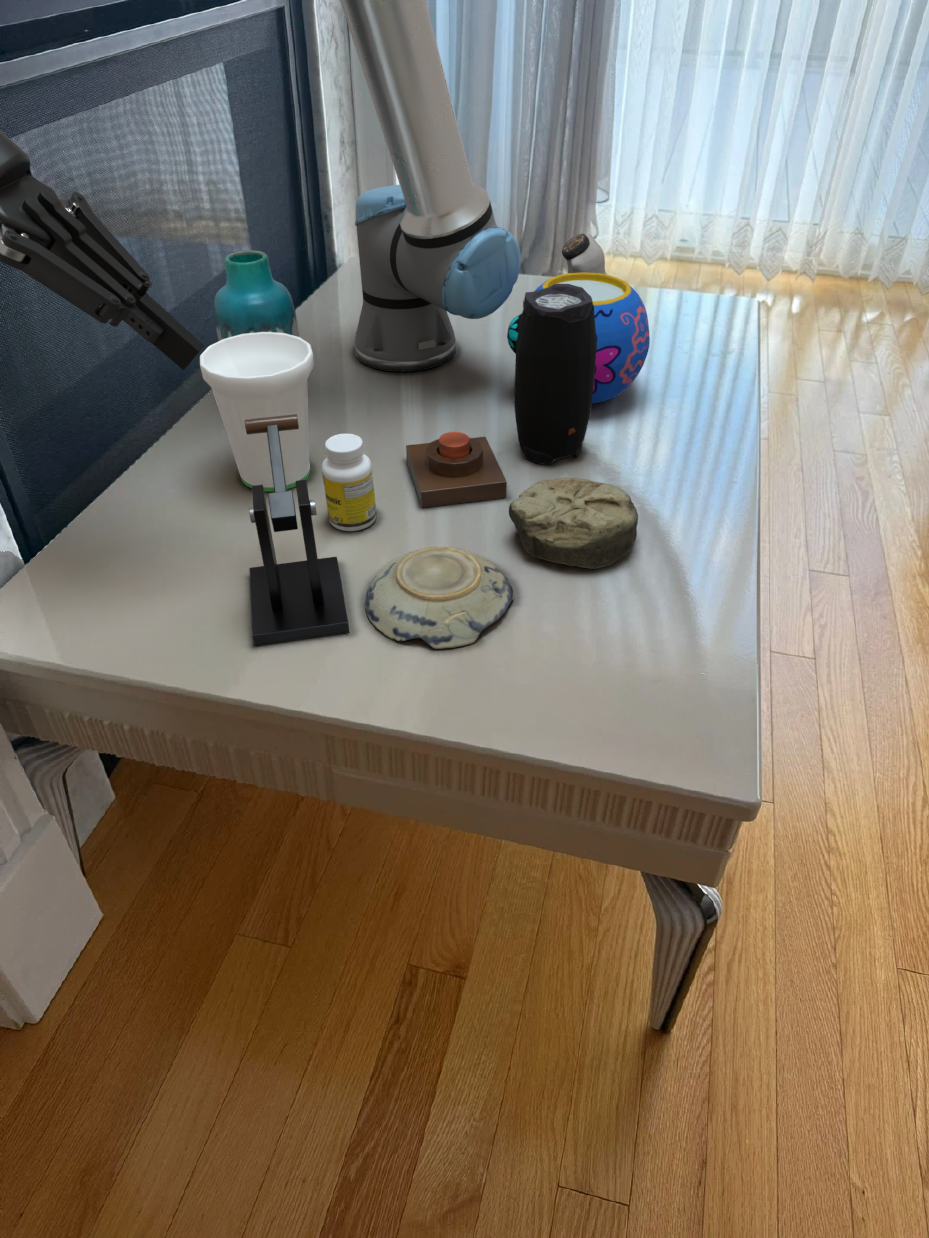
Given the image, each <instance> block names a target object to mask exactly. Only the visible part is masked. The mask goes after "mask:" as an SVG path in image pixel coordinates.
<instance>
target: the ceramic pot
mask: <svg viewBox="0 0 929 1238" xmlns="http://www.w3.org/2000/svg"><path fill="white" fill-rule="evenodd" d="M606 274H607V273H606ZM606 274H600V273H586V272H581V273H568V272H567V273H562V274H559V275H555V276H553V277H550V278H548V279H547V280H546V279H545V281H544V282H542V283H541V284H540V285H539V286H538V287H536V289H535V290H534V291H537V290H541V289H544V288H548V287H550V286H552V285H554V284H571V285H575V286H578V287H582V288H583V289H584V290H585V291H586V292H587V293H588V294H589V295H590V296H591V297H592V301H593V305H594V315H595V329H596V342H597V351H596V363H595V374H594V385H593V396H592V405H593V404H597V403H603V402H605V401H608V400H611V399H613V398H617V397H619V396H620V395H621V394H623V393H624V392H625V391H627V390H628V388H629V387H631V385H632V384H633V383H634V381H635V380H636V378H637V377H638V376H639V373H640V372H641V370H642V369H643V367H644V364H645V362H646V359H647V356H648V353H649V350H650V342H651V341H650V340H651V338H650V325H649V319H648V318H649V317H648V313H647V309H646V307H645V304H644V301H643V299H642V298H641V296H640V295H639V293H638V292H637V291H636V289H634V288H633V286H632V285H630V284H629V283H628V282H627V281H625V280H623V279H621V278H620V277H617V276H614V275H609V274H607V275H606ZM522 313H523V310H522V312H521V313H520V314H518V315H517V316H515V317H513V319H511V321H510V323H509V324H508V327H507V334H506V337H507V338H506V339H507V343H508V346H509V348H510V349H511V351H512V352H513V353H514V354H515V355H516V341H517V336H518V332H519V327H520V322H521V318H522Z"/></svg>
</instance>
